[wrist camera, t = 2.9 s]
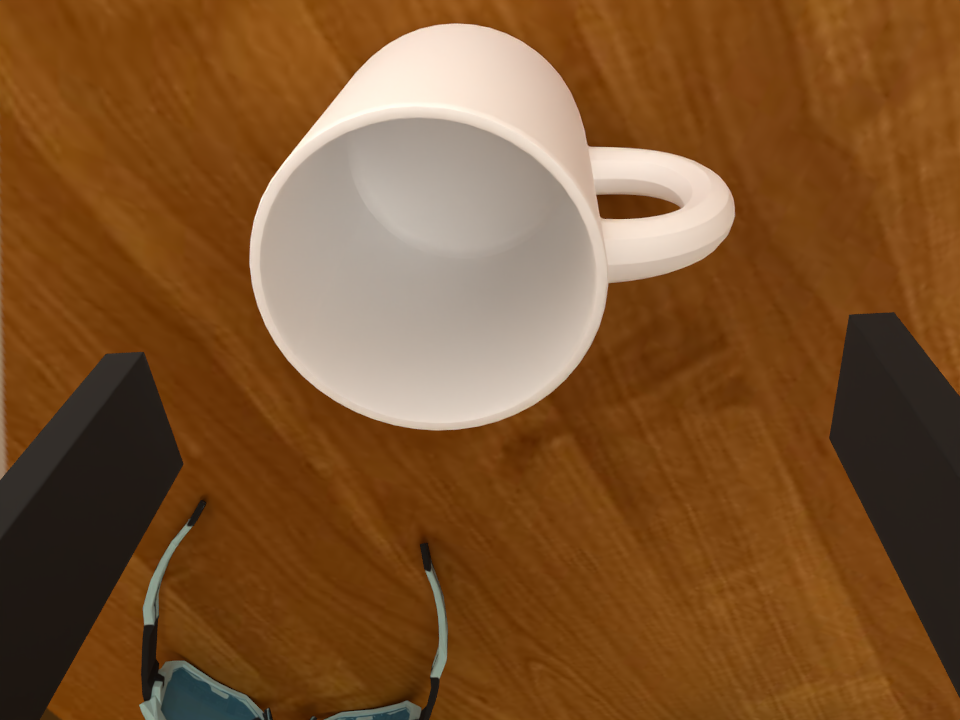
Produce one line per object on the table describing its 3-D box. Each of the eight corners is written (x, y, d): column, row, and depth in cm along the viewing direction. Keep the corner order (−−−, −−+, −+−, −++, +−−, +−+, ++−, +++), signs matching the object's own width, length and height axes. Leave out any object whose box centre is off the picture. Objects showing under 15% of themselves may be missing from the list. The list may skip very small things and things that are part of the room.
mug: (715, 13, 25) (810, 101, 16) (686, 262, 29) (749, 437, 21) (325, 18, 26) (216, 106, 17) (352, 261, 30) (277, 429, 21)
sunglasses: (160, 697, 44) (120, 779, 40) (174, 464, 38) (128, 528, 34) (419, 743, 45) (409, 828, 40) (473, 521, 39) (468, 592, 34)
